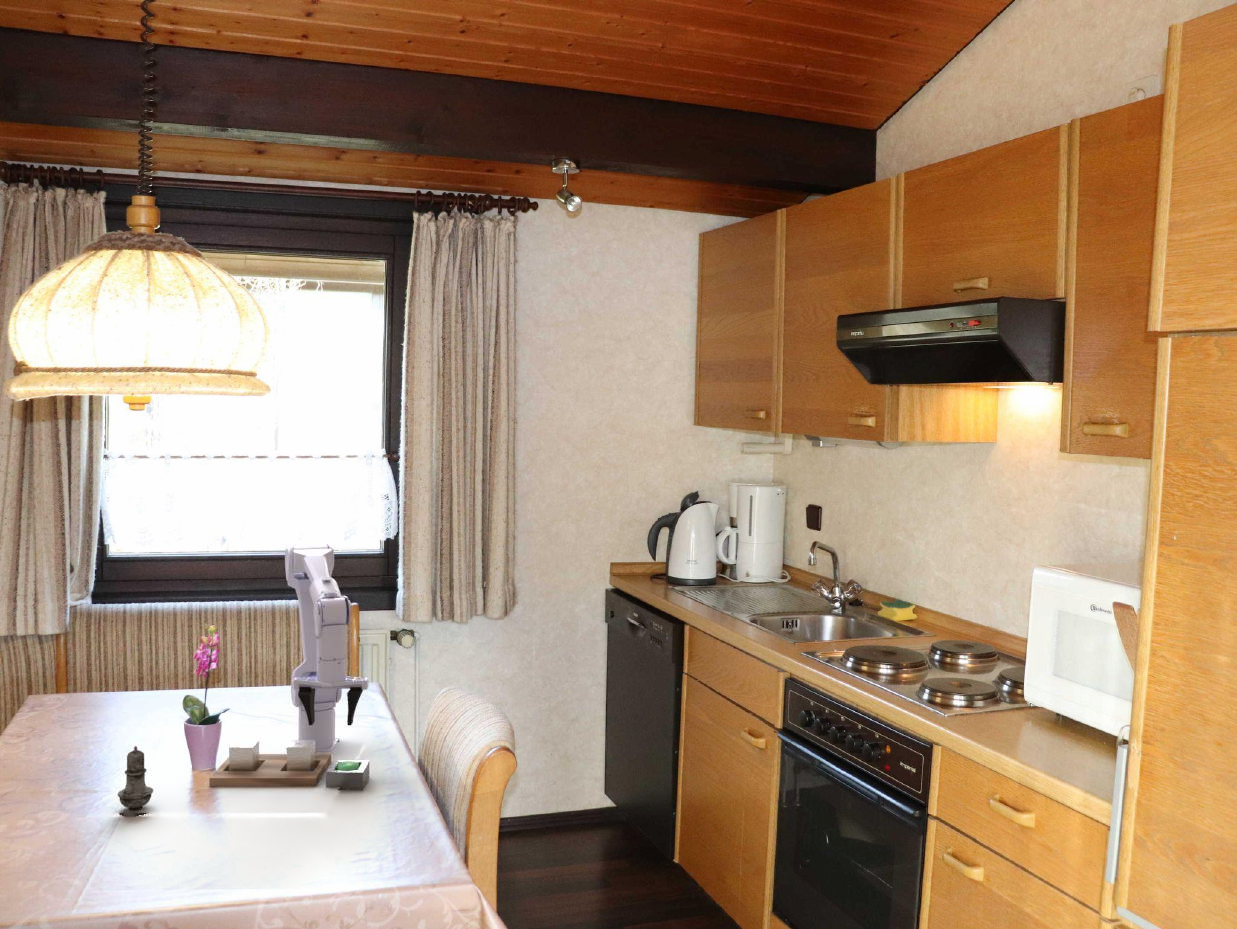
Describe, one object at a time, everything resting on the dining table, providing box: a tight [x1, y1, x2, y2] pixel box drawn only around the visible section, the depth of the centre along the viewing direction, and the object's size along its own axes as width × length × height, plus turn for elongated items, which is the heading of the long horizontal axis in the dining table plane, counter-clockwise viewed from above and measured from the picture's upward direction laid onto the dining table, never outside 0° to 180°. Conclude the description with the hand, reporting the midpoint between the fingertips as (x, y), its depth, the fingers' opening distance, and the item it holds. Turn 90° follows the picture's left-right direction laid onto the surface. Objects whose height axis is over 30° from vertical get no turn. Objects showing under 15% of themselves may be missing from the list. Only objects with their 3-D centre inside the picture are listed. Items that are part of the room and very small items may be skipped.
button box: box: [325, 759, 370, 791], centre depth 206 cm, size 7×7×4 cm
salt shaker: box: [117, 745, 154, 818], centre depth 189 cm, size 6×6×12 cm
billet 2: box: [286, 739, 316, 771], centre depth 209 cm, size 4×4×6 cm
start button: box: [338, 761, 359, 770], centre depth 206 cm, size 4×4×3 cm
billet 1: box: [228, 739, 260, 771], centre depth 208 cm, size 4×4×6 cm
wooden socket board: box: [208, 753, 332, 788], centre depth 209 cm, size 14×20×2 cm
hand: (330, 723), depth 213 cm, fingers open, 7 cm apart
